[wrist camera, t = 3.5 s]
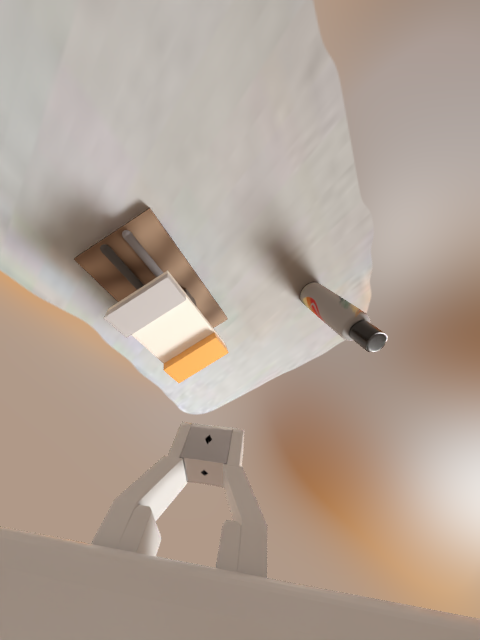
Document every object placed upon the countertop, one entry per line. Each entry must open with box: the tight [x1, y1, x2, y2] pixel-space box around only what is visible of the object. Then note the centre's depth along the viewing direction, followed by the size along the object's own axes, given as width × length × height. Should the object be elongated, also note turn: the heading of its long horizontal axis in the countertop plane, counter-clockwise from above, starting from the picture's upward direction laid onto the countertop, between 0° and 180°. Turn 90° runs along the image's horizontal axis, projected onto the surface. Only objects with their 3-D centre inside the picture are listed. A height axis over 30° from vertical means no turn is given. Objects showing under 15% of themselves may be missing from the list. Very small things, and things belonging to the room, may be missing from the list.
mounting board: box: [74, 208, 227, 328], centre depth 41 cm, size 24×14×2 cm, turn 28°
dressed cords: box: [100, 230, 163, 290], centre depth 37 cm, size 13×5×1 cm, turn 28°
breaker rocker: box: [104, 270, 228, 383], centre depth 34 cm, size 16×10×3 cm, turn 28°
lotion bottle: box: [300, 282, 388, 352], centre depth 43 cm, size 6×6×20 cm
